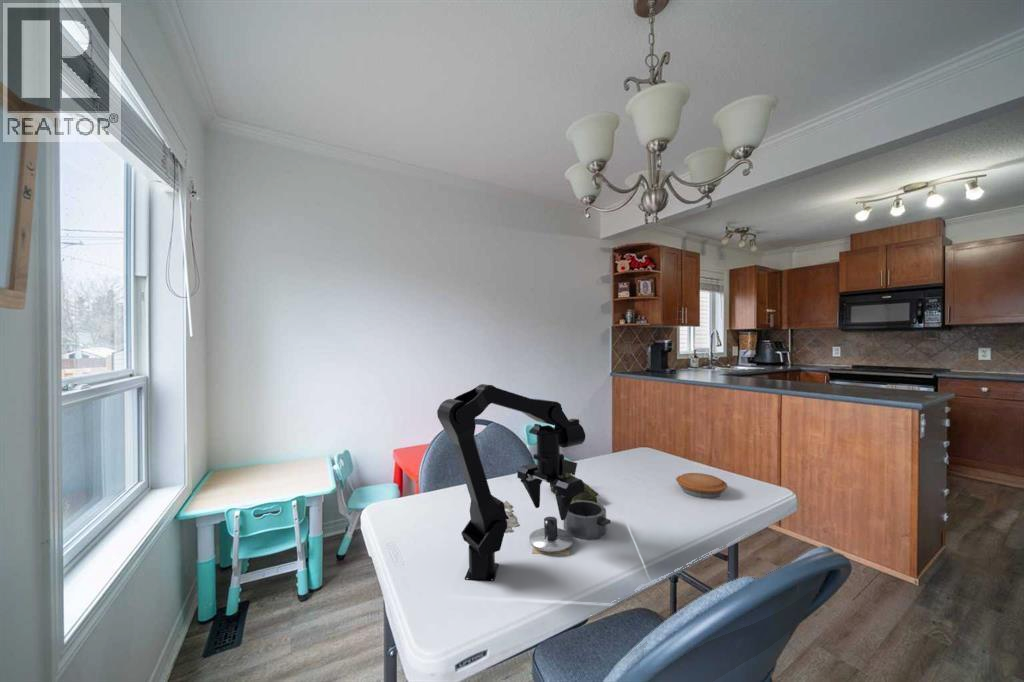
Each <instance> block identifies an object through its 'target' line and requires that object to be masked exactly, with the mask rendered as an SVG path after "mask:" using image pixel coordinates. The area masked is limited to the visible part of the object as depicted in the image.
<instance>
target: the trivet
mask: <svg viewBox="0 0 1024 682" xmlns="http://www.w3.org/2000/svg"><path fill="white" fill-rule="evenodd" d="M570 548H571V547H569V548H568V549H566V550H563V551H558V552H546V551H542V550H539V549H536V548H535V547H533V546H532V549H531V550H532V551H531V555H535V554H536V555H556V556H557V555H558V556H559V555H560V556H571V549H570Z"/></svg>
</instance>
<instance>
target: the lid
mask: <svg viewBox="0 0 1024 682" xmlns="http://www.w3.org/2000/svg"><path fill="white" fill-rule="evenodd" d="M528 541H529V543H530V545H531V547H532V548H533V547H535V548H536V549H539V550H542V551H546V552H558V551H563V550H566V549H568V548H569V547H570V548H571V547H572V545H573V544H574V537H572V535H571V534H570V533H569V532H567V531H565V530H564V528H558V518H556V517H555V516H546V517H544V518H543V527H542V528H538V529H536V530H534V531H532V532H531V533H530V534H529V540H528Z"/></svg>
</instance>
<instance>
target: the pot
mask: <svg viewBox="0 0 1024 682" xmlns="http://www.w3.org/2000/svg"><path fill="white" fill-rule="evenodd" d="M610 523H611V519H609V518H607V509H606V508H605V506H604V505H602V504H601V503H598V502H597V503H596V502H593V501H585V500H580V501H572V502H571V504H570V506H569V509H568V513H567V516H566V519H565V520H563V530H565V531H567V532H569V533H570V534H571V535H572V537H573V539H577V540H585V541H588V540H589V541H590V540H599V539H600V538H603V537H604V536H606V534H607V530H608V528H607V525H609V524H610Z"/></svg>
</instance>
